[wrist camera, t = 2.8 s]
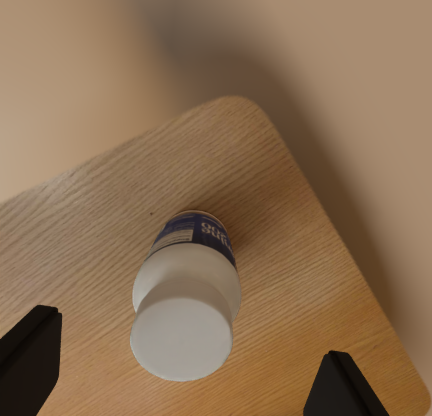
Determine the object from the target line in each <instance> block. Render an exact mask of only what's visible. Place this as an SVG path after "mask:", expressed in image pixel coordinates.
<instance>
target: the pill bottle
mask: <svg viewBox="0 0 432 416" xmlns="http://www.w3.org/2000/svg"><path fill="white" fill-rule="evenodd" d="M132 297H133V305H134V309H135V312H136V316H135V319H134V322H133V325H132V328H131V334H130V343H131V349H132V352H133V354H134V356H135V358H136V359H137V361H138V362H139V364H140V365H142V366H143V367H144V368H145V369H146V370H147V371H148V372H150V373H151V374H153V375H155V376H157V377H160V378H163V379H166V380H170V381H182V382H183V381H192V380H197V379H201V378H203V377H206V376H208V375H210V374H212V373H213V372H215V371H216V370H217V369H218V368H219V367H221V366H222V365H223V363H224V362H225V361H226V360H227V358H228V356H229V354H230V352H231V349H232V345H233V328H232V323H233V321H234V320H235V318H236V316H237V314H238V311H239V308H240V304H241V285H240V280H239V275H238V272H237V267H236V263H235V258H234V255H233V250H232V247H231V242H230V238H229V235H228V233H227V230H226V228H225V227H224V225H223V224H222V223H221V221H219V220H218V219H217V218H216V217H215V216H213V215H211V214H209V213H207V212H204V211H198V210H189V211H184V212H181V213H179V214H176V215H174V216H173V217H171V218H170V219H169V220H168V221H167V222H166V223H165V225H164V226H163V227H162V229H161V230H160V232H159V234H158V236H157V238H156V240H155V242H154V244H153V246H152V247H151V249H150V251H149V253H148V255H147V257H146V259H145V260H144V262H143V264H142V266H141V268H140V270H139V271H138V274H137V277H136V279H135V282H134V286H133V295H132Z"/></svg>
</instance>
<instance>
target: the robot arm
mask: <svg viewBox="0 0 432 416" xmlns="http://www.w3.org/2000/svg"><path fill="white" fill-rule="evenodd" d="M61 329H62V313H58V309H57V308H56V307H51V306H44V305H37V306H36V307H34V308H33V309H32V310H31V311H30V312H29V313H28V314H27V315H26V316H25V317H24V318H22V319H21V320H20V321H19V322H18V323H17V324H16V325H15V326H14V327H13V328H12V329H11V330H10V331H9V332H7V333H6V334H5V335H4V336H3V337H2V338H1V339H0V416H36V415H37V414H38V412H39V410H40V409H41V407H42V406H43V404H44V403H45V401H46V399H47V398H48V396H49V395H50V393H51V392H52V390H53V388H54V387H55V385H56V383H57V380H58V377H59V366H60V348H61ZM303 416H389V414H388V413H387V411H386V410H385V408H384V407H383V405H382V403H381V402H380V400H379V399H378V397H377V396H376V394H375V393H374V391H373V390H372V388H371V387H370V385H369V384H368V382H367V380H366V379H365V377H364V376H363V374H362V373H361V371H360V370H359V368H358V367H357V365H356V364H355V362H354V361H353V359H352V357H351V356H350V355H349V354H348V353H346V352H339V351H333V350H331V351H329V353H328V354H325V355H324V357H323V360H322V362H321V365H320V367H319V370H318V373H317V375H316V378H315V380H314V383H313V386H312V388H311V391H310V393H309V396H308V399H307V401H306V404H305V407H304V411H303Z"/></svg>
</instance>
